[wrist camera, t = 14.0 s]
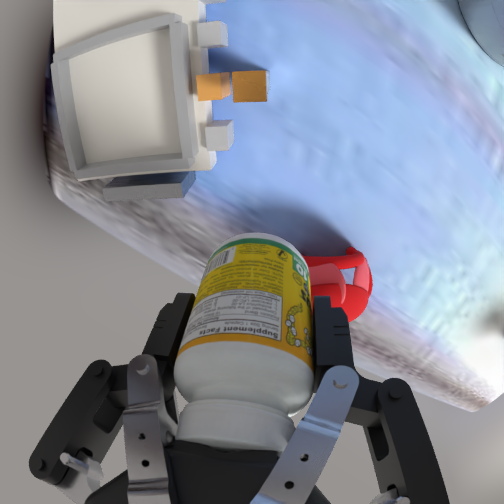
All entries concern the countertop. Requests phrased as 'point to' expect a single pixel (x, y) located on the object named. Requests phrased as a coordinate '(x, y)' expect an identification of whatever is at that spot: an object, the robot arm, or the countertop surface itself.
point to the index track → (178, 183)
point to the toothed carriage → (138, 86)
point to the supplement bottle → (247, 347)
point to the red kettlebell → (341, 281)
